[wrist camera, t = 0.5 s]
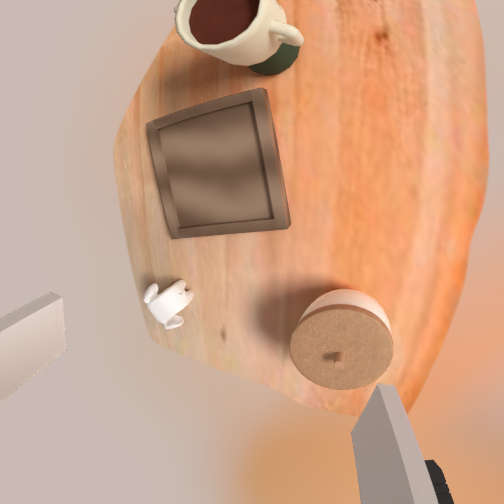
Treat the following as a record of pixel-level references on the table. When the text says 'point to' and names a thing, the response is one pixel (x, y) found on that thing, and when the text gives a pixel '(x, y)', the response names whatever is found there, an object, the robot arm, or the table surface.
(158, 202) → the table surface
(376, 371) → the lidded jar
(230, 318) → the table surface
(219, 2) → the character mug
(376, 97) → the table surface
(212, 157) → the walnut tray
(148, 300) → the elephant figurine
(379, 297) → the table surface
